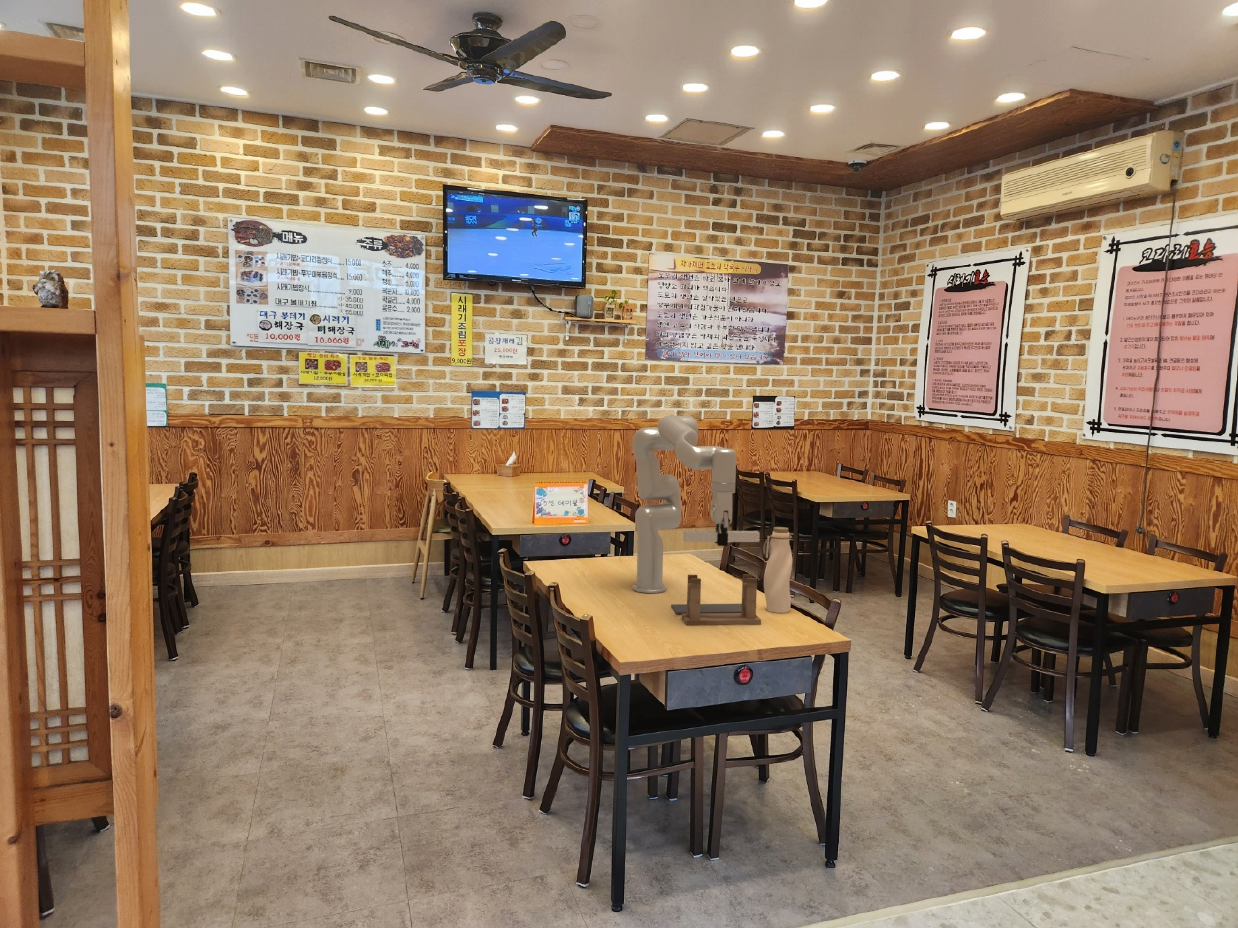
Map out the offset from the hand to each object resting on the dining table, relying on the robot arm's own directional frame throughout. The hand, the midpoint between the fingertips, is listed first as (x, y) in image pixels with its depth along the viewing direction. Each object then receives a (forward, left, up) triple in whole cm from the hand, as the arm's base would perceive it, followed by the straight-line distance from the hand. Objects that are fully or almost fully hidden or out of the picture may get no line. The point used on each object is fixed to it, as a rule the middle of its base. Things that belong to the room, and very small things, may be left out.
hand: (721, 543), depth 253 cm
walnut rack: (+2, 0, -25) cm, 25 cm away
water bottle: (-10, +22, -25) cm, 35 cm away
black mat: (-11, 0, -25) cm, 27 cm away
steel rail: (0, 0, +1) cm, 1 cm away
